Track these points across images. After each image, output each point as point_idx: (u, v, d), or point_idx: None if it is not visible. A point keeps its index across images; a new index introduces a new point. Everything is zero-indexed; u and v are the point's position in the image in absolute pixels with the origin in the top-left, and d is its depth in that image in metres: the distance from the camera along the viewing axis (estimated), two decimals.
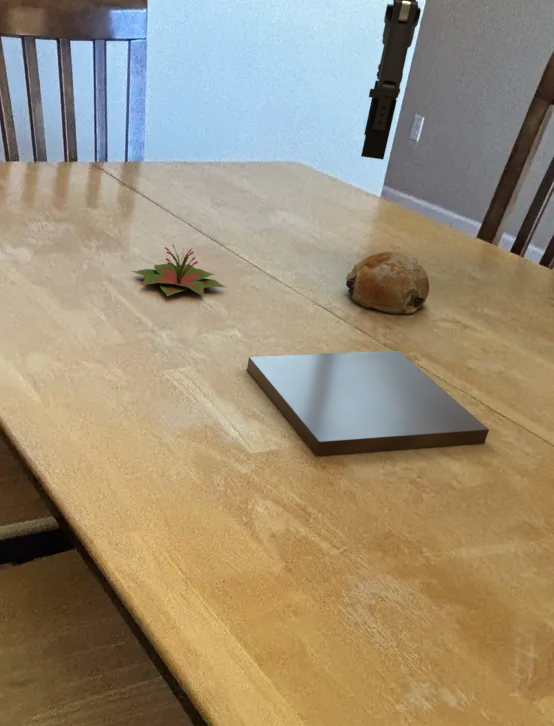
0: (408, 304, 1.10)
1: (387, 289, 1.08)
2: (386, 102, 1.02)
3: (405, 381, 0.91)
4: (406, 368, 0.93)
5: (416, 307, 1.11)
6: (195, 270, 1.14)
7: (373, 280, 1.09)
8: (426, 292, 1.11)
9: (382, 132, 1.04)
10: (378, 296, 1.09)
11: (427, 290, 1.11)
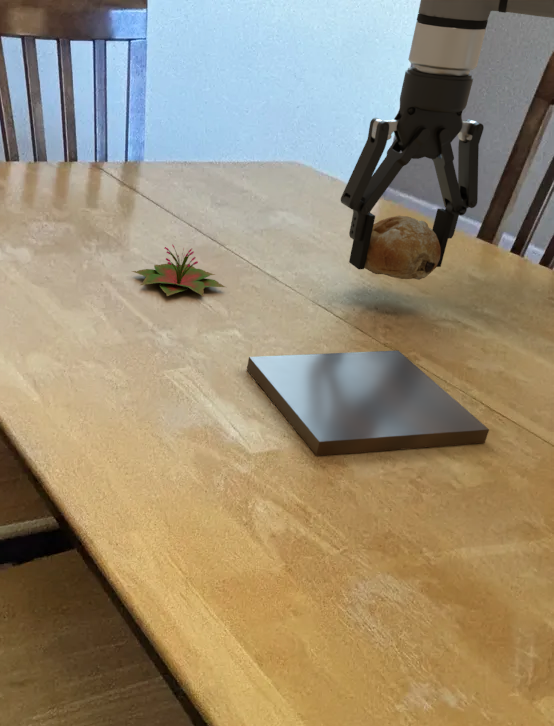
0: (419, 269, 1.07)
1: (397, 253, 1.05)
2: (356, 214, 1.05)
3: (405, 381, 0.91)
4: (406, 368, 0.93)
5: (427, 272, 1.08)
6: (195, 270, 1.14)
7: (383, 244, 1.06)
8: (437, 257, 1.08)
9: (360, 243, 1.07)
10: (388, 260, 1.06)
11: (438, 255, 1.08)
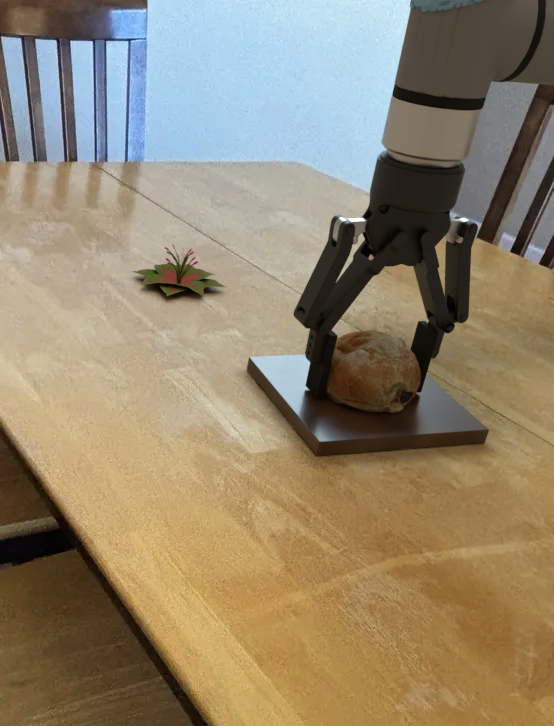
0: (393, 400, 0.84)
1: (365, 382, 0.82)
2: (313, 332, 0.82)
3: None
4: None
5: (403, 403, 0.85)
6: (195, 270, 1.14)
7: (347, 370, 0.83)
8: (416, 384, 0.85)
9: (319, 366, 0.84)
10: (353, 391, 0.83)
11: (418, 381, 0.85)
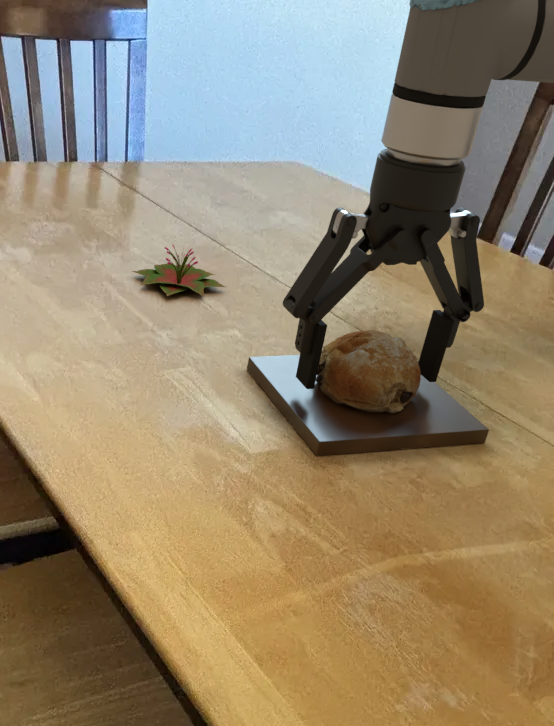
0: (393, 400, 0.84)
1: (365, 382, 0.82)
2: (303, 322, 0.81)
3: None
4: None
5: (403, 403, 0.85)
6: (195, 270, 1.14)
7: (347, 370, 0.83)
8: (416, 384, 0.85)
9: (309, 357, 0.83)
10: (353, 391, 0.83)
11: (418, 381, 0.85)
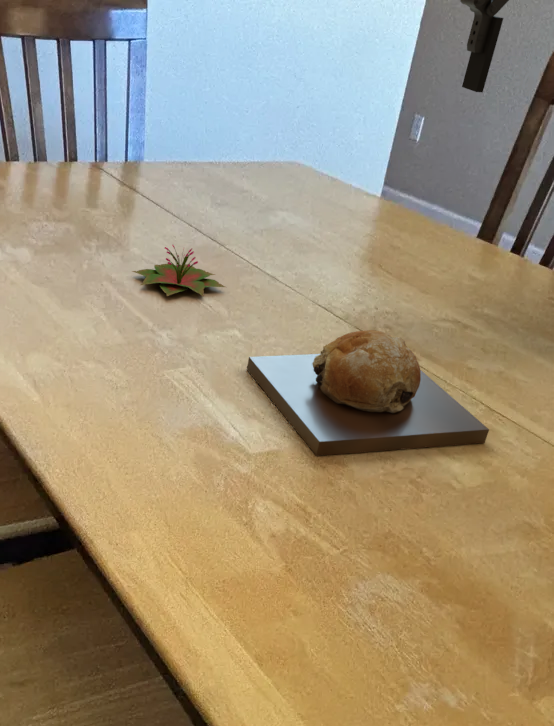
0: (393, 400, 0.84)
1: (365, 382, 0.82)
2: (479, 17, 0.85)
3: None
4: None
5: (403, 403, 0.85)
6: (195, 270, 1.14)
7: (347, 370, 0.83)
8: (416, 384, 0.85)
9: (480, 57, 0.87)
10: (353, 391, 0.83)
11: (418, 381, 0.85)
